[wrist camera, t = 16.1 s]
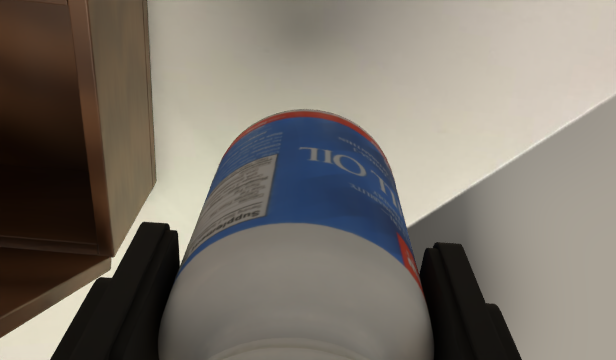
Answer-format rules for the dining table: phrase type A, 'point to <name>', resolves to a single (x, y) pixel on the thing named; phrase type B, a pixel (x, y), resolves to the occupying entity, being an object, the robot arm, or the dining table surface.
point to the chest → (74, 123)
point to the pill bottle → (299, 253)
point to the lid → (41, 281)
